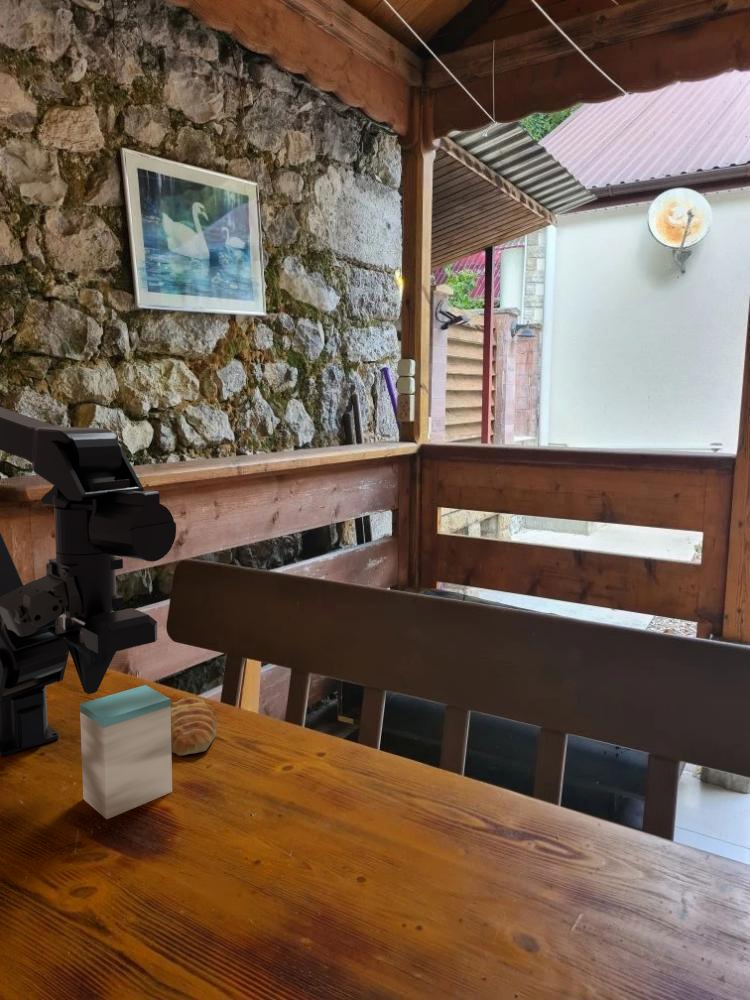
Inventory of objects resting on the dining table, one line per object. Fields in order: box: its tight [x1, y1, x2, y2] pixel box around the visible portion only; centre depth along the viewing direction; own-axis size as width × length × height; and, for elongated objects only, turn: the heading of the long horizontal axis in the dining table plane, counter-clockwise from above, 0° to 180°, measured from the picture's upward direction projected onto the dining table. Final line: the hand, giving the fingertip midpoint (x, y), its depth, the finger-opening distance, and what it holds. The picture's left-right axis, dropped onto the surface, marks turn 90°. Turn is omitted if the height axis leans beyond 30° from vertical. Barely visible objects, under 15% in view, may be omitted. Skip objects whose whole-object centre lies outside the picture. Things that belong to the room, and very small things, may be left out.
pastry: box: [170, 697, 219, 757], centre depth 84 cm, size 9×7×4 cm
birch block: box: [79, 684, 173, 820], centre depth 72 cm, size 5×7×10 cm
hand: (90, 692), depth 77 cm, fingers closed
